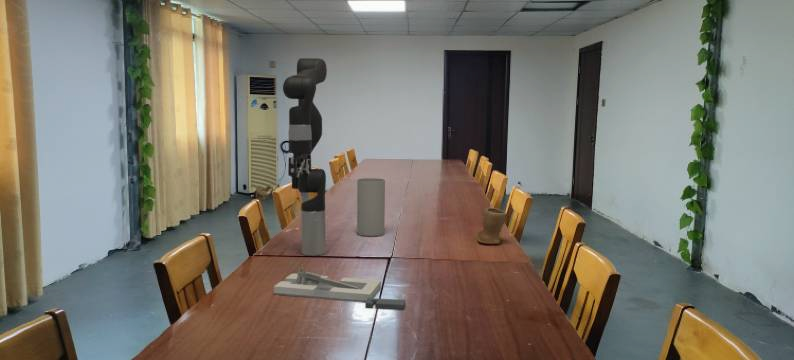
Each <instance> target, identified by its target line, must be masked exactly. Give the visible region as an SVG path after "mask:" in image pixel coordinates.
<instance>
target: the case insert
mask: <svg viewBox="0 0 794 360" xmlns="http://www.w3.org/2000/svg"><path fill="white" fill-rule="evenodd" d="M297 276H298V273H295V272H294V273H291V274H289V275H288V276H287V277H285V279H284V281H283V280H281V281H279V282H278V283H277V284H275V285H274V286H273V288H274V289H273V295H276V296H277V295H278V296H288V297H289V296H291V297H298V298H312V299H313V298H314V299H322V300H323V299H324V300H332V301H333V300H335V301H345V302H357V303H366V301H367V299H368V298H375V297H376V295H377V294H378V293H379V292H380V290H381V289H382V280H380V279H369V278H368V279H367V278H356V277H344V276H343V277H342V278H341V279H340V280H339V282H342V283H345V284H349V285H352V286H356V287H358V289H349V288H339V287H335V286H331V285H328V284H324V283H320V282H319V284H316V283H312V282H311V281H308V283H307V284H306V285H303V283H304V279H305V278H302V279H301V283H300V284H297ZM321 277H323V278H327V279H330V278H329V275H321Z"/></svg>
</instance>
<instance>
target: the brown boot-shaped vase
mask: <svg viewBox="0 0 794 360" xmlns="http://www.w3.org/2000/svg"><path fill="white" fill-rule="evenodd" d="M506 217H507V213H506V212H505V211H504V210H502V209H500V208H497V207H487V208H485V209H484V211H483V216H482V225H483V230H481V231H477V232H476V235H475V236H476V238H477V240H478V242H479V243H481V244H487V245H495V244H496V245H498V244H501V237H500V232H501V230H502V228H503V226H504V224H505V222H506V219H507V218H506Z"/></svg>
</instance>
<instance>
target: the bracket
mask: <svg viewBox="0 0 794 360" xmlns="http://www.w3.org/2000/svg"><path fill="white" fill-rule="evenodd" d="M364 304H365V305H364V307H365V309H374V307H375V309H376V310H377V309H378V310H393V311H405V308H406V304H407V303H406V300H405V299H393V298H377V297H376V298H375V297H374V298H368V299H367V301H366V302H364Z"/></svg>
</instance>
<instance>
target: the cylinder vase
mask: <svg viewBox="0 0 794 360" xmlns="http://www.w3.org/2000/svg"><path fill="white" fill-rule="evenodd" d="M356 180H357V182H356V183H357V184H356V186H357V188H356V189H357V191H356V193H357V194H356V195H357V196H356V197H357V198H356V202H357V203H356V233H357V235H358V236H361V237H365V238H366V237H369V238H371V237H372V238H373V237H374V238H375V237H380V236H383V235H384V234H385V222H386V220H385V215H386V214H385V212H386V210H385V208H386V207H385V204H386V203H385V202H386V199H385V198H386V195H385V194H386V180H385V179H384V178H376V177H375V178H373V177H369V178H368V177H367V178H357V179H356Z"/></svg>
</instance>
